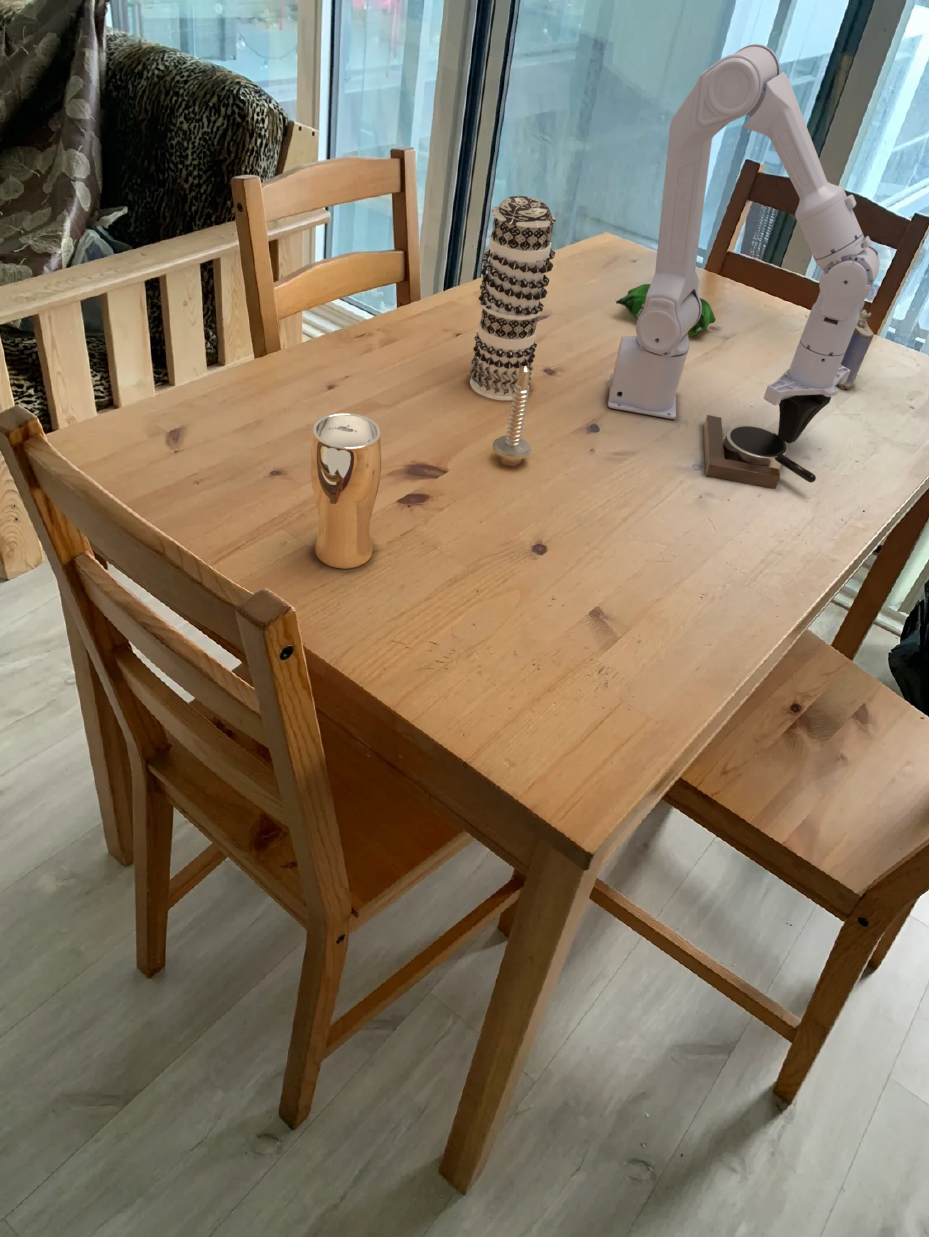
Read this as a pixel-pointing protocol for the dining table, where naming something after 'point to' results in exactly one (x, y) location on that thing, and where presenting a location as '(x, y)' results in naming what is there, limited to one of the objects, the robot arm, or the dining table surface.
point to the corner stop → (730, 468)
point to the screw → (515, 425)
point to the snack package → (638, 299)
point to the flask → (857, 349)
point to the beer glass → (345, 486)
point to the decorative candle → (511, 294)
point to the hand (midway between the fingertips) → (786, 439)
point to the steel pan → (760, 449)
